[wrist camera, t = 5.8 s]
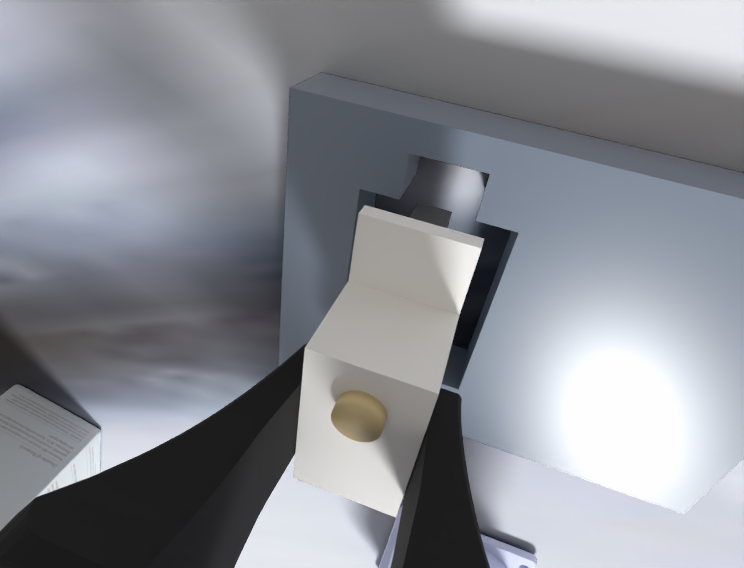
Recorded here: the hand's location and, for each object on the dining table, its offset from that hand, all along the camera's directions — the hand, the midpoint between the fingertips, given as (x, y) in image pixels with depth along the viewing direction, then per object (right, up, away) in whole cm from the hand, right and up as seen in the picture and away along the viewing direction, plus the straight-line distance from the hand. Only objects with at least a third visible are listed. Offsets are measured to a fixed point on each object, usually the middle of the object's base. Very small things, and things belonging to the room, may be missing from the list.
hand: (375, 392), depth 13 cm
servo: (+1, +2, +3) cm, 4 cm away
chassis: (+5, +3, +5) cm, 8 cm away
